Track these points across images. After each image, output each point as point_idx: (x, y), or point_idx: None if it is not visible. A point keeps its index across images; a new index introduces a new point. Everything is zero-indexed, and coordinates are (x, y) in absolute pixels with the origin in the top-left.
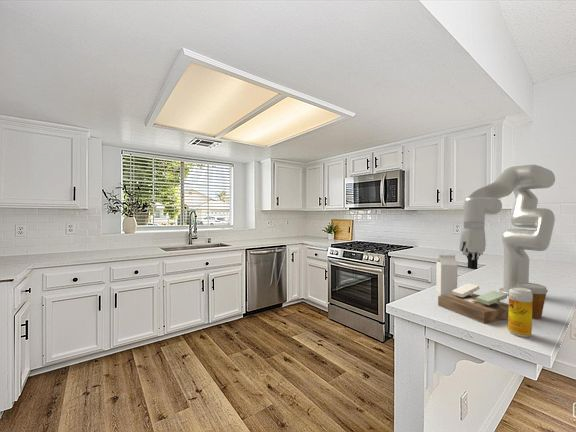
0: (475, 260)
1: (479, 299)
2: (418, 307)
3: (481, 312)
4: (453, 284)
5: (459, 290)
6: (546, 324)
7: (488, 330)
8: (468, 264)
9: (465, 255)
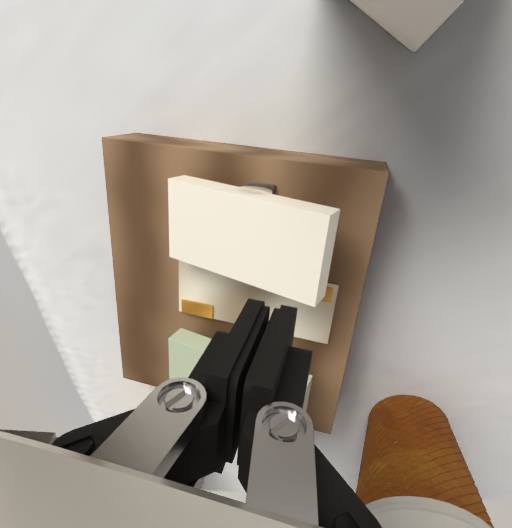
0: (220, 465)
1: (171, 351)
2: (23, 109)
3: (125, 366)
4: (398, 16)
5: (195, 221)
6: (348, 469)
7: (113, 377)
8: (210, 343)
9: (49, 435)
